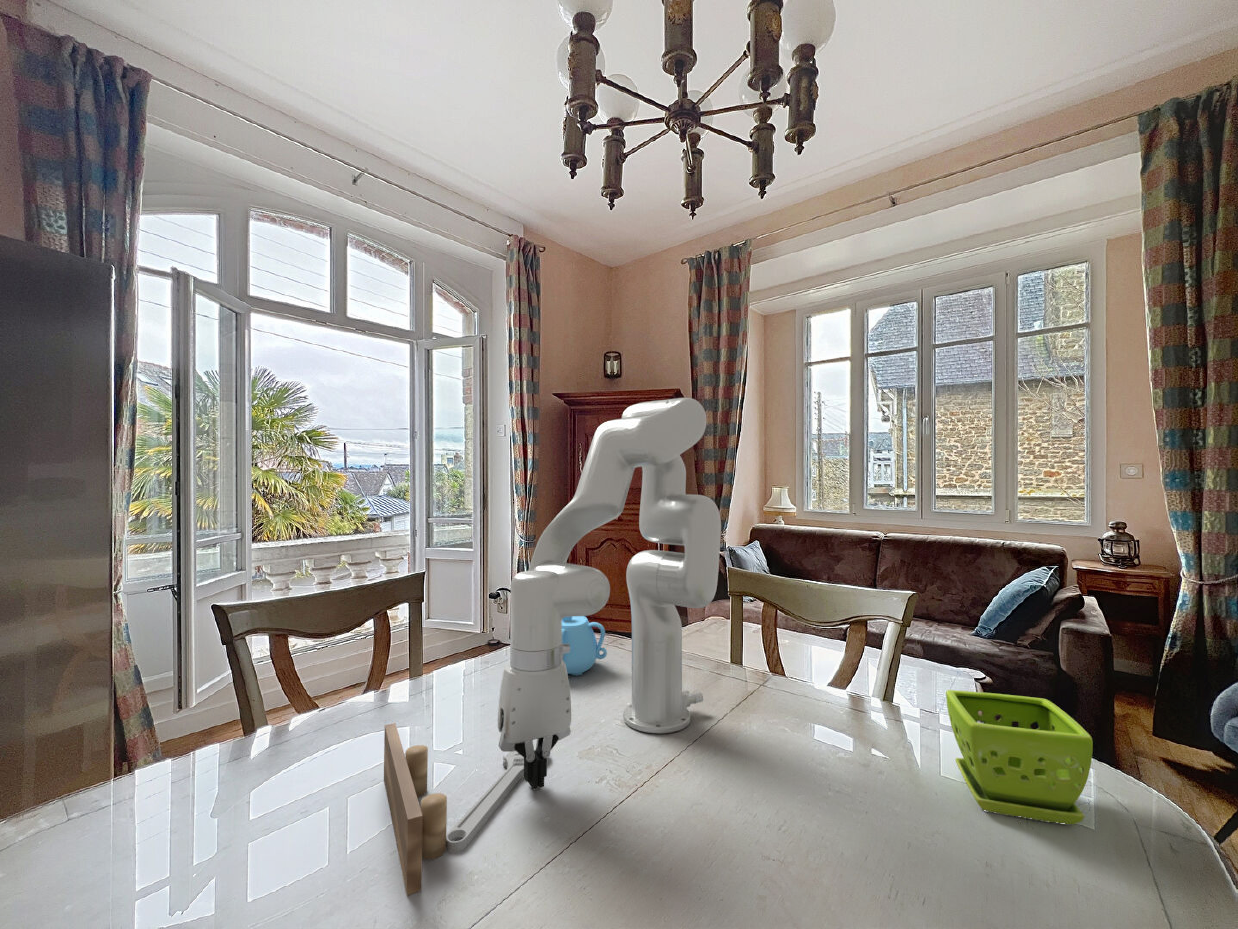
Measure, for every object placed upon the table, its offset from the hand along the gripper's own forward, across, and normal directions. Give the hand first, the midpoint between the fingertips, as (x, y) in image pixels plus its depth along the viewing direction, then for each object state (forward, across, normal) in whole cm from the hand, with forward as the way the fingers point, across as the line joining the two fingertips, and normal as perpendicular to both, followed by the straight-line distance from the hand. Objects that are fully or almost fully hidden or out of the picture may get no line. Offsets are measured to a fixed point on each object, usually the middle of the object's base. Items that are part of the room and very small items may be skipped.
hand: (535, 783), depth 79 cm
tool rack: (+1, +17, 0) cm, 17 cm away
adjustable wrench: (+1, +5, -2) cm, 6 cm away
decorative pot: (+1, -24, -45) cm, 51 cm away
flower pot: (+1, -58, +35) cm, 68 cm away
